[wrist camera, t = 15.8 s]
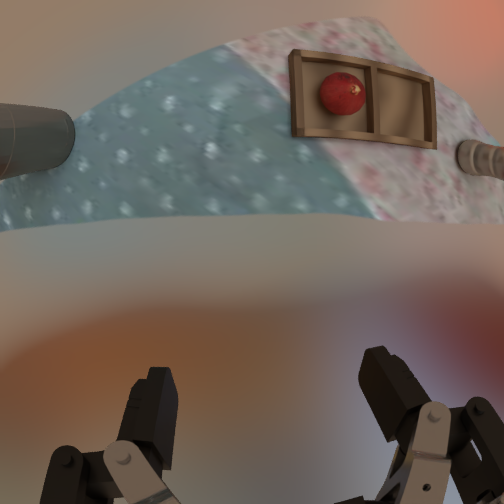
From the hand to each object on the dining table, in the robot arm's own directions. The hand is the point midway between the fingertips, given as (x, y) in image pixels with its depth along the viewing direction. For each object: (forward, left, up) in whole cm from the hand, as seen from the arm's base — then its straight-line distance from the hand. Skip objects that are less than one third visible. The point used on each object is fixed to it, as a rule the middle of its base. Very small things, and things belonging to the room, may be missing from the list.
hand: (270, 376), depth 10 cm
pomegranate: (+13, +16, -30) cm, 36 cm away
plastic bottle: (+41, +10, -30) cm, 52 cm away
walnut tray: (+19, +16, -30) cm, 39 cm away
